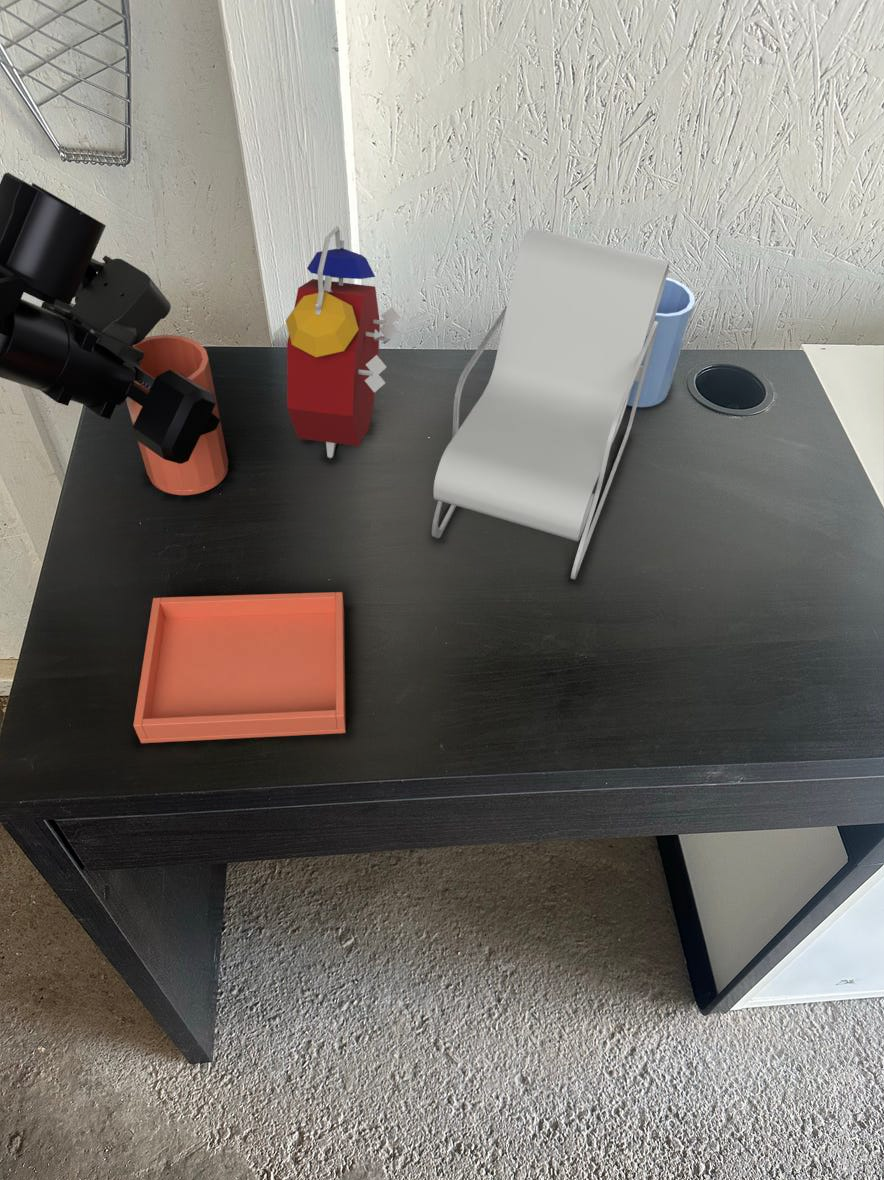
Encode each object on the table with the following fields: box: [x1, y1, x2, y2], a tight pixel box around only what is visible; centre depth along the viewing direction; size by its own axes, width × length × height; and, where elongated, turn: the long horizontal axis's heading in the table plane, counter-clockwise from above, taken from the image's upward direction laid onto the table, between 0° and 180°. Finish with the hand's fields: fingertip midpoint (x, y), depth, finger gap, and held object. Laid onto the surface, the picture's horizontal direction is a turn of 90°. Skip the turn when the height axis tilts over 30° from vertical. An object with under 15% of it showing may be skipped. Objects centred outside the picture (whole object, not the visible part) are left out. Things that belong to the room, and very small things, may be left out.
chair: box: [431, 226, 671, 580], centre depth 79 cm, size 13×25×20 cm, turn 161°
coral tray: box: [132, 591, 347, 744], centre depth 70 cm, size 15×12×2 cm
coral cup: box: [125, 334, 229, 496], centre depth 79 cm, size 7×7×12 cm
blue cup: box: [626, 277, 696, 408], centre depth 93 cm, size 7×7×11 cm
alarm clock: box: [285, 225, 401, 459], centre depth 82 cm, size 15×9×20 cm, turn 174°
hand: (187, 404), depth 80 cm, fingers closed on coral cup, 7 cm apart
